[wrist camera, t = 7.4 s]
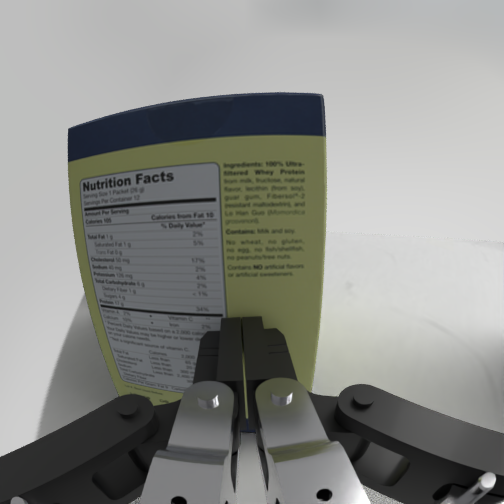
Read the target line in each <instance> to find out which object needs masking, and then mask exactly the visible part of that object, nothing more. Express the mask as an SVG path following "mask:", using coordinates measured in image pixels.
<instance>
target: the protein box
mask: <svg viewBox="0 0 504 504" xmlns="http://www.w3.org/2000/svg"><path fill="white" fill-rule="evenodd" d="M325 126H326V125H325V107H324V98H323V95H322V94H314V93H285V92H280V93H279V92H277V93H276V92H275V93H248V94H231V95H220V96H210V97H200V98H193V99H186V100H179V101H173V102H167V103H161V104H156V105H151V106H146V107H141V108H137V109H132V110H128V111H124V112H120V113H116V114H113V115H109V116H105V117H102V118H99V119H95V120H92V121H89V122H86V123H83V124H79V125H77V126H74V127H71V128H69V129H68V177H69V193H70V205H71V215H72V224H73V231H74V238H75V245H76V251H77V257H78V262H79V268H80V273H81V278H82V282H83V287H84V291H85V295H86V299H87V303H88V307H89V311H90V314H91V318H92V322H93V325H94V328H95V332H96V335H97V338H98V341H99V344H100V347H101V350H102V353H103V356H104V359H105V362H106V364H107V367H108V370H109V372H110V375H111V378H112V380H113V383H114V385H115V388H116V390H117V392H118V395H119V396H122V395H126V394H138V395H142V396H144V397H146V398H148V399H149V400H150V401H151V402H152V404H153V406H155V405H161V404H167V403H172V402H175V401H178V400H180V399H182V396H183V393H184V392H185V390H186V389H187V388H188V387H190V386H191V385H192V384H193V378H194V373H195V367H196V361H197V357H198V350H199V345H200V339H201V338H202V337H203V336H204V334H205V333H206V332H207V331H220V325H221V318H230V317H240V318H241V338H242V356H243V375H244V393H245V409H246V426H247V430H240V431H241V432H256V430H249V424H248V409H247V395H246V379H245V363H244V344H243V323H242V317H252V316H262V321H263V326H264V329H269V328H277V329H278V330H279V331H280V332H281V333H282V334H284V336H285V339H286V343H287V346H288V349H289V353H290V356H291V359H292V363H293V366H294V369H295V373H296V376H297V379H298V382H300V383H301V384H302V385H303V386H304V387H305V388H306V390H307V391H309V392H311V390H312V384H313V377H314V371H315V363H316V354H317V347H318V338H319V329H320V318H321V306H322V293H323V277H324V257H325V238H326V209H327V206H326V205H327V170H326V169H327V168H326V127H325Z"/></svg>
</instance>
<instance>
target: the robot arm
mask: <svg viewBox="0 0 504 504" xmlns="http://www.w3.org/2000/svg"><path fill="white" fill-rule="evenodd" d="M242 323H243V344H244V363H245V379H246V395H247V409H248V424H249V430H256V442H257V453H258V458H259V463H260V468H261V473H262V478H263V482H264V487H265V492H266V497H267V504H370V502H369V500H368V497H367V495H366V493H365V491H364V489H363V487H362V485H361V484H363V485H364V486H366V487H368V488H371V489H373V490H375V491H377V492H379V493H381V494H383V495H385V496H388V497H390V498H392V499H394V500H397V501H399V502H401V503H404V504H504V434H503V433H500V432H496V431H493V430H489V429H486V428H483V427H480V426H476V425H473V424H470V423H467V422H464V421H461V420H458V419H455V418H452V417H450V416H447V415H444V414H441V413H438V412H436V411H433V410H430V409H428V408H425V407H423V406H420V405H417V404H415V403H412V402H410V401H407V400H405V399H402V398H400V397H398V396H395V395H393V394H390V393H388V392H386V391H383V390H381V389H379V388H376V387H374V386H371V385H366V384H357V385H352V386H349V387H347V388H345V389H344V390H343V391H342V392H341V393H340V395H339V397H334V396H322V395H317V394H313V393H311V392H309V391H307V390H306V388H305V387H304V386H303V385H302V384H301V383H300V382H298V379H297V376H296V373H295V369H294V366H293V363H292V359H291V356H290V353H289V349H288V346H287V343H286V339H285V336H284V334H282V333H281V332H280V331H279V330H278V329H277V328H269V329H264V326H263V321H262V316H252V317H242ZM240 430H247V426H246V409H245V393H244V375H243V356H242V338H241V318H240V317H230V318H221V325H220V331H207V332H206V333H205V334H204V336H203V337H202V338H201V339H200V345H199V350H198V357H197V361H196V367H195V373H194V378H193V384H192V385H191V386H190V387H188V388H187V389H186V390H185V392H184V393H183V396H182V399H180V400H178V401H175V402H172V403H167V404H161V405H155V406H153V404H152V402H151V401H150V400H149V399H148V398H146V397H144V396H142V395H138V394H126V395H122V396H119V397H117V398H115V399H114V400H112V401H110V402H108V403H107V404H105V405H103V406H101V407H99V408H98V409H96V410H94V411H92V412H90V413H89V414H87V415H85V416H83V417H81V418H79V419H77V420H76V421H74V422H72V423H70V424H68V425H66V426H64V427H62V428H60V429H58V430H56V431H54V432H52V433H50V434H48V435H46V436H44V437H42V438H40V439H38V440H36V441H34V442H32V443H30V444H28V445H26V446H24V447H21V448H19V449H17V450H15V451H13V452H10V453H8V454H6V455H4V456H1V457H0V504H129V503H131V502H132V501H134V500H135V499H137V498H138V497H140V496H141V498H140V502H139V504H237V486H238V469H239V452H240V449H239V447H240V444H241V434H240Z"/></svg>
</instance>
